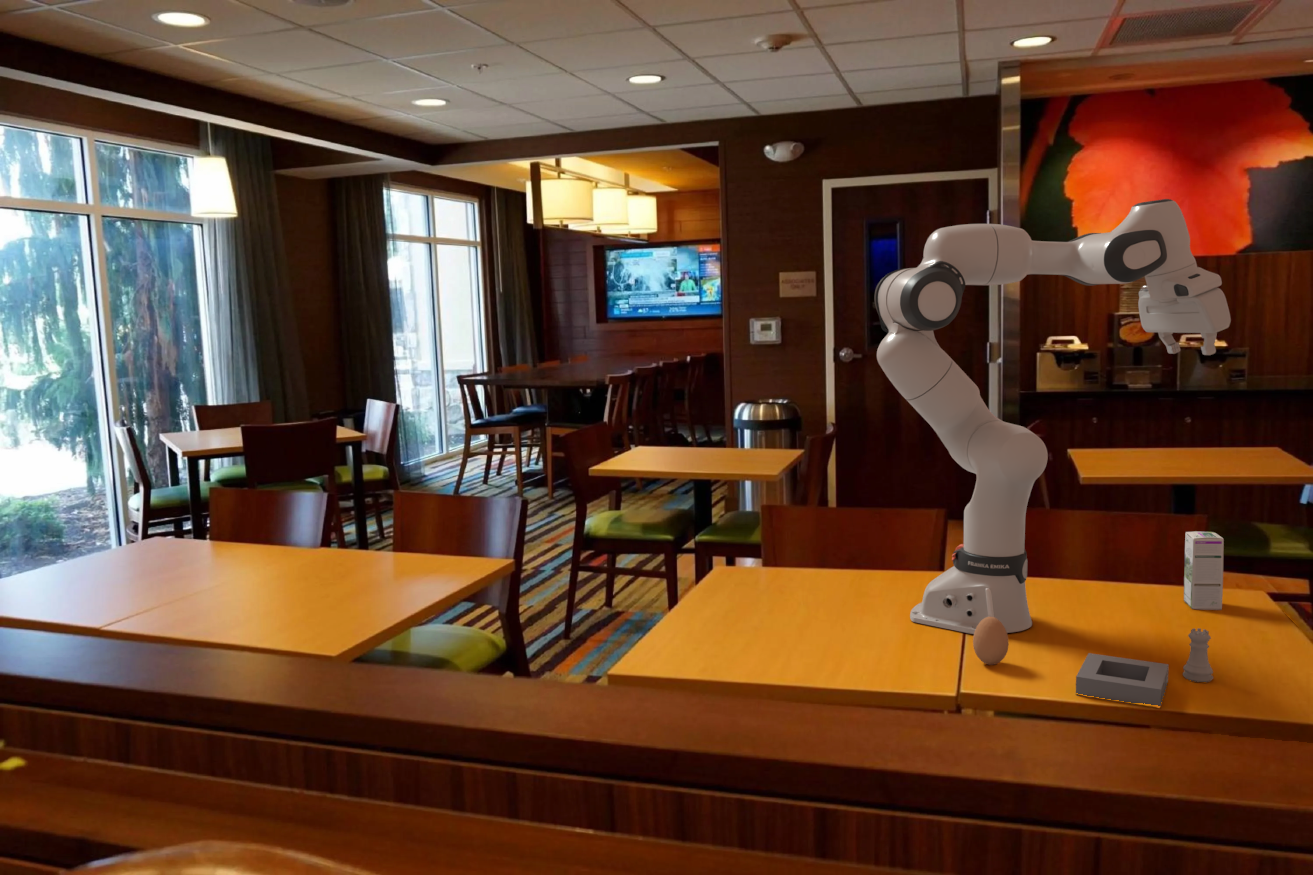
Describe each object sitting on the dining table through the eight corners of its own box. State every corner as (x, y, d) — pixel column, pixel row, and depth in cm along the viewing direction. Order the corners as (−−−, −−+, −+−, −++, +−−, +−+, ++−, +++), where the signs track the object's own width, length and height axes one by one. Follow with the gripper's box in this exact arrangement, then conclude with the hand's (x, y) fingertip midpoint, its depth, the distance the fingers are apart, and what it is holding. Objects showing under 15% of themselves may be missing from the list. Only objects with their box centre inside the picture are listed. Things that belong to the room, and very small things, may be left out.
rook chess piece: (1184, 671, 171) (1186, 624, 170) (1215, 676, 169) (1217, 629, 168) (1180, 680, 168) (1182, 632, 166) (1211, 685, 165) (1213, 636, 164)
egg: (977, 656, 181) (977, 610, 180) (1011, 661, 178) (1012, 614, 177) (969, 666, 176) (969, 619, 175) (1004, 672, 173) (1004, 623, 172)
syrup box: (1223, 610, 202) (1226, 537, 200) (1190, 609, 203) (1193, 537, 201) (1213, 601, 208) (1216, 531, 206) (1181, 601, 209) (1184, 530, 207)
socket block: (1075, 694, 163) (1076, 676, 162) (1088, 670, 173) (1088, 653, 172) (1160, 708, 157) (1161, 689, 156) (1167, 682, 167) (1168, 664, 166)
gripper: (1123, 290, 203) (1141, 357, 205) (1197, 287, 183) (1216, 361, 185) (1151, 280, 204) (1168, 346, 206) (1227, 275, 184) (1245, 349, 186)
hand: (1191, 353), depth 195 cm, fingers open, 8 cm apart
